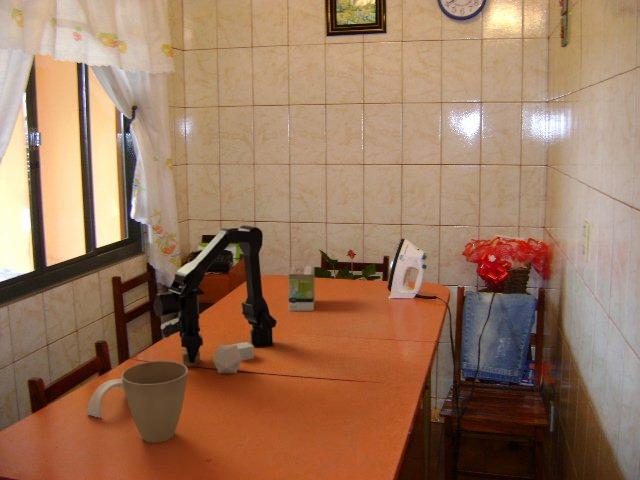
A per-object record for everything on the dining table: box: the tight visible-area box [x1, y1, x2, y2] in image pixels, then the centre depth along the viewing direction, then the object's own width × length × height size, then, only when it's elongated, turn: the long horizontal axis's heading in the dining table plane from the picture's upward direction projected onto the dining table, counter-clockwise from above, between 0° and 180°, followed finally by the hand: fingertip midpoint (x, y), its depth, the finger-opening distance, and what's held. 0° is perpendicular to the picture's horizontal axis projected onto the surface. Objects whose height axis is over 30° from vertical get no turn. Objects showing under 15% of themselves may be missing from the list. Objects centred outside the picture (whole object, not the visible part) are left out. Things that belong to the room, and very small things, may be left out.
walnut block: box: [181, 348, 201, 368], centre depth 212 cm, size 5×5×4 cm
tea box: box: [288, 266, 316, 312], centre depth 274 cm, size 15×10×15 cm, turn 179°
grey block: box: [232, 341, 255, 361], centre depth 217 cm, size 5×5×4 cm
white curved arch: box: [86, 377, 125, 419], centre depth 184 cm, size 24×12×7 cm, turn 151°
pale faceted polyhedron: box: [212, 344, 243, 374], centre depth 204 cm, size 8×9×10 cm
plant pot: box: [121, 360, 189, 444], centre depth 162 cm, size 15×15×16 cm
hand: (191, 359), depth 212 cm, fingers closed on walnut block, 5 cm apart
